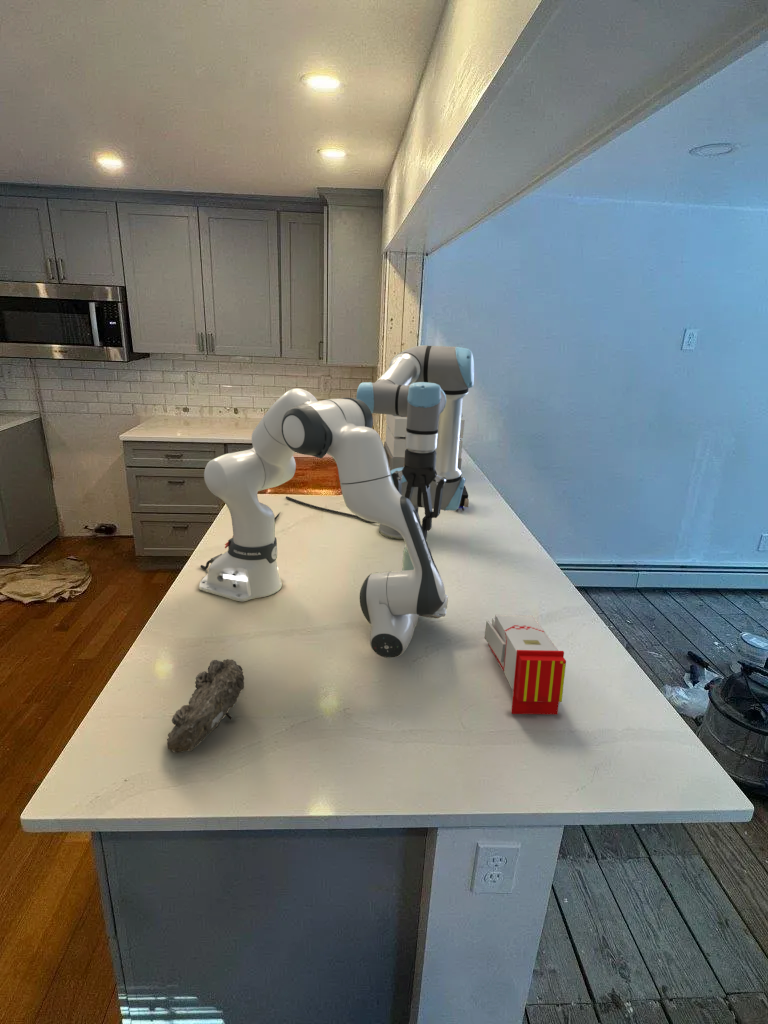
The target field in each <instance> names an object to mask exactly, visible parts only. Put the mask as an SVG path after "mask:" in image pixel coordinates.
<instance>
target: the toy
mask: <svg viewBox="0 0 768 1024" xmlns="http://www.w3.org/2000/svg"><path fill="white" fill-rule="evenodd" d="M494 615H495V616H494V617H491V622H490V620H485V621H486V622H485V630H484V640H485V641H486V642H487V646H488V647H489V649H490V651H491V652H492V654H493V656H494V657H495V659H496V661H497V663H498V665H499V667H500V668H501V670H502V671H503V674H504V676H505V678H506V680H507V682H508V684H509V686H510V689H511V690H512V701H511V712H510V713H511V714H512V715H556V716H558V715H559V714H558V713H559V705H560V703H562V702H563V695H564V694H563V693H564V686H565V685H564V683H565V677H566V676H565V675H566V667H567V666H566V665H567V660H566V658H564V656H565V651H564V650H559V649H558V648H557V646H556V645H555V644H554V642H553V641H552V640H551V638H550V637H549V636H548V634H547V633H546V631H544V629H543V628H542V626H541V625H540V623H539V622H538V620H536V618H535V617H534V615H531V614H530V615H527V614H526V615H523V614H519V615H518V614H494Z"/></svg>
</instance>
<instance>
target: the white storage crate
mask: <svg viewBox="0 0 768 1024" xmlns="http://www.w3.org/2000/svg"><path fill="white" fill-rule="evenodd" d="M385 423H386V428H385V438H384V442H383V446H384V449H385V452H386V455H387V459H388V463H389V468H390V471H391V470H393V469H396V468H401V467H404V459H405V450H406V449H407V448H406V447H405V442H406V428H407V416H402V415H390V414H385ZM464 429H465V419H464V418H463V414H462V415H461V427H460V440H459V453H458V465H457V468H458V469H459V470H460V471H461V472H462V461H463V460H462V453H463V442H464V441H463V440H462V439H463V438H464V431H465V430H464Z"/></svg>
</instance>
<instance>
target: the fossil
mask: <svg viewBox="0 0 768 1024" xmlns="http://www.w3.org/2000/svg"><path fill="white" fill-rule="evenodd" d="M243 670H244V669H243V667H242V665H240V664H237V662H236V661H235V660H234V659H232V658H231V659H227V658H226V659H224V660H223V661H222V660H217V659H212V660H211V661H210V663H209V665H208V666H207V671H201V672H199V673H198V674H197V675H196V676H195V680H194V684H195V685H194V687H195V689H194V690H193V693H192V694H191V697H190V698H189V700H188V704H184V705H182V706H181V707H180V709H177V710H176V711H175V713H174V715H173V716H172V718H171V723H172V724H173V727H172V730H171V731H170V732H168V734H167V738H166V741H167V742H166V745H167V749H168V750H169V751H173V752H174V753H176V754H178V753H182V752H188V751H189V752H192V751H193V750H195V748H196V747H197V746H199V744H200V743H201V742H203V741H204V740H205V739H206V738H207V737H208V736H209V735H210V734H211V733H212V732H214V730H215V729H217V727H218V726H219V724H220V722H221V721H222V720H223V719H224V718H225V716H226V717H227V719H229V720H233V717H232V715H230V714H229V710H230V709H231V708H234V706H235V704H236V703H237V702H238V699H239V697H240V695H241V693H242V691H243V690H245V689H244V688H245V675H244V671H243Z"/></svg>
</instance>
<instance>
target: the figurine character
mask: <svg viewBox="0 0 768 1024" xmlns="http://www.w3.org/2000/svg"><path fill="white" fill-rule="evenodd" d="M469 505H470V500H469V492H468V490H467V488H466V485H464V488H463V492H462V496H461V501H460V504H459V508H458V509H461V511H462V512H464V511H465V508H469ZM458 509H457V510H455V511H456V512H457V511H458Z"/></svg>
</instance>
